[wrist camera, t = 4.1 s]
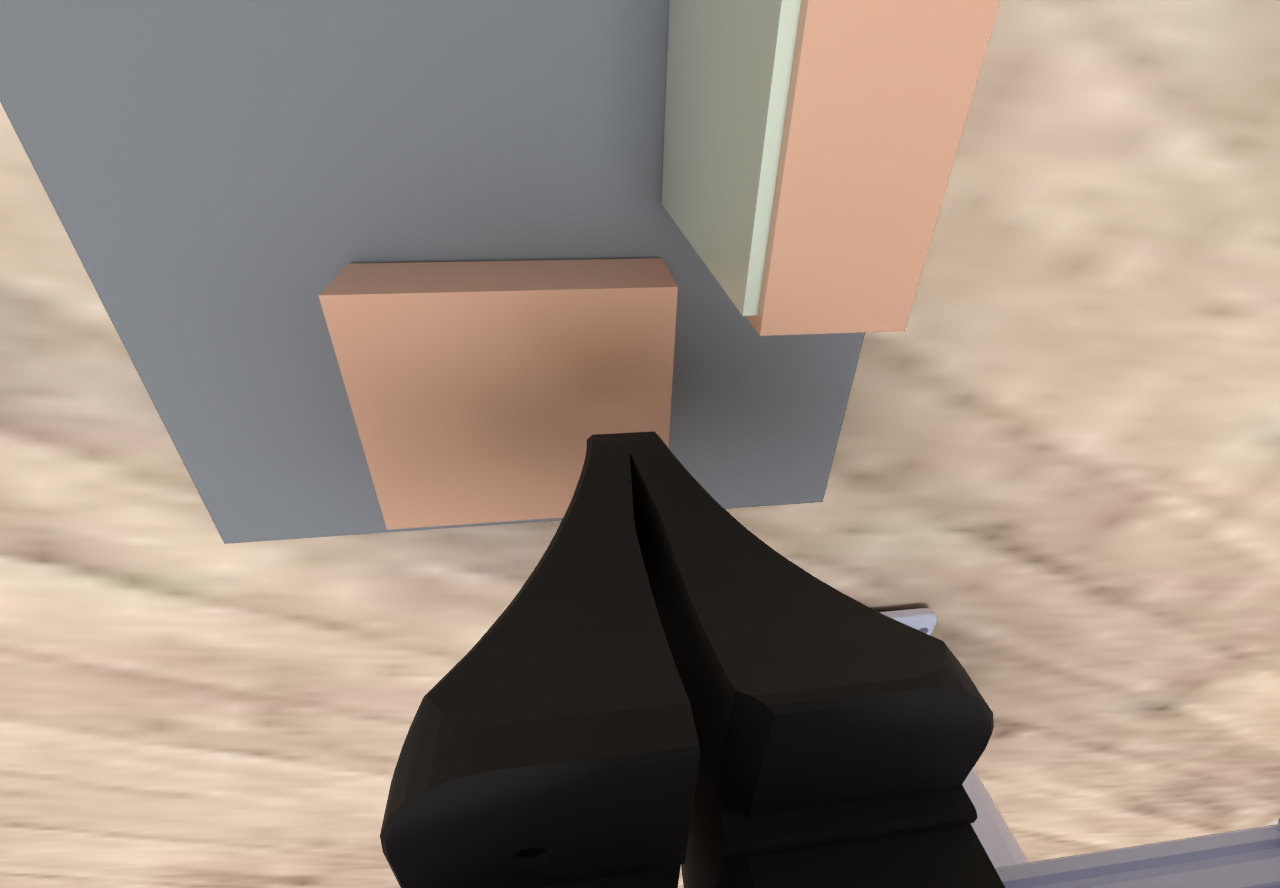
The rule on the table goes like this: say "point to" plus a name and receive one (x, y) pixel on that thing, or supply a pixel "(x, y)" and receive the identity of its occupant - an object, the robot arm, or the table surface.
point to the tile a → (498, 377)
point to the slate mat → (376, 219)
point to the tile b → (817, 149)
